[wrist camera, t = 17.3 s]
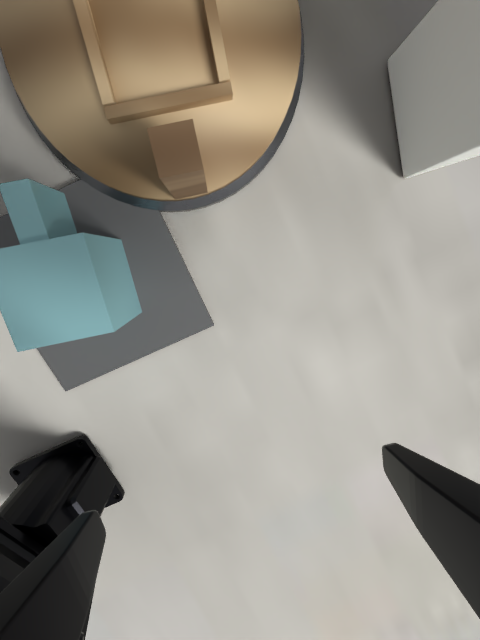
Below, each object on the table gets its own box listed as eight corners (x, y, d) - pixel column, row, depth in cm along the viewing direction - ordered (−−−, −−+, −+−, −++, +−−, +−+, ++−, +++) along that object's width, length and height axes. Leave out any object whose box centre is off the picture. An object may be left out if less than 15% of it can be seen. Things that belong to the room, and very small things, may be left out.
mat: (68, 388, 20) (65, 391, 20) (-34, 235, 17) (-40, 235, 17) (213, 324, 20) (213, 325, 20) (133, 157, 17) (132, 155, 17)
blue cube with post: (142, 312, 19) (114, 331, 14) (71, 326, 19) (17, 351, 14) (108, 194, 17) (62, 168, 12) (29, 209, 17) (-51, 189, 12)
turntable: (315, 173, 17) (355, 137, 12) (68, 225, 17) (2, 211, 12) (270, -170, 14) (301, -433, 8) (-49, -114, 13) (-220, -351, 8)
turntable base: (106, 253, 18) (103, 253, 18) (-59, -49, 14) (-71, -62, 14) (337, 148, 18) (341, 144, 17) (233, -194, 14) (234, -214, 13)
